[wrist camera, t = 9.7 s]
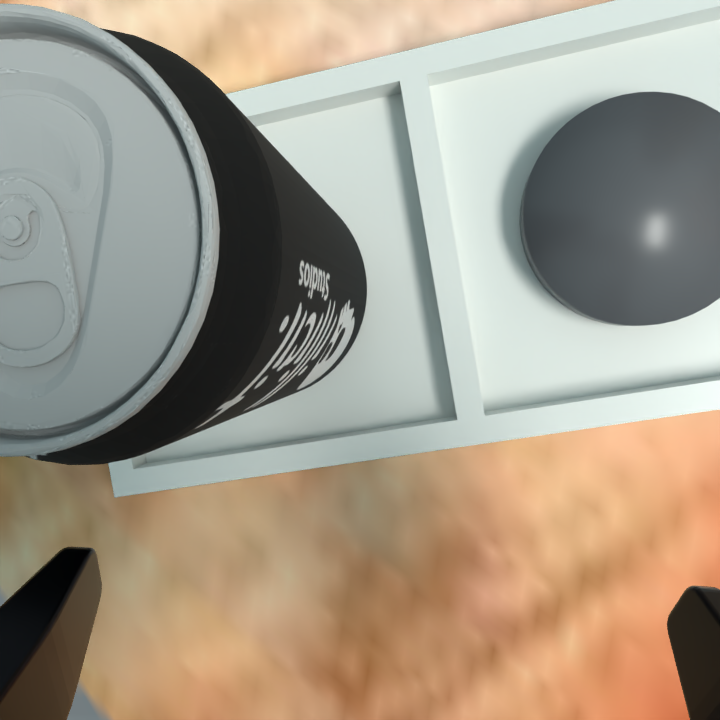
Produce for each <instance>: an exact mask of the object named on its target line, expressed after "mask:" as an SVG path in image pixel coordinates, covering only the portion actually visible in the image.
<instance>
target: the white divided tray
mask: <svg viewBox="0 0 720 720" xmlns="http://www.w3.org/2000/svg"><path fill="white" fill-rule="evenodd" d="M225 95H226V96H227V97H228V98H229V99H230V100H231V101H232V102H233V103H234V104H235V105H236V107H237V108H238V109H239V110H240V111H241V112H242V113H243V114H244V115H245V116H246V117H247V118H248V119H249V120H250V121H251V123H252V124H253V125H254V126H255V127H256V128H257V129H258V130H259V131H260V132H261V133H262V134H263V135H264V136H265V138H266V139H267V140H268V141H269V142H270V143H271V144H272V145H273V146H274V147H275V148H276V149H277V150H278V151H279V152H280V154H281V155H282V156H283V157H284V158H285V159H286V160H287V161H288V162H289V163H290V164H291V165H292V166H293V167H294V168H295V170H296V171H297V172H298V173H299V174H300V175H301V176H302V177H303V178H304V179H305V180H306V181H307V182H308V183H309V184H310V186H311V187H312V188H313V189H314V190H315V191H316V192H317V193H318V194H319V195H320V196H321V197H322V198H323V199H324V200H325V202H326V203H327V204H328V205H329V206H330V207H331V208H332V209H333V210H334V211H335V212H336V213H337V214H338V216H339V217H340V218H341V219H342V220H343V221H344V223H345V224H346V225H347V227H348V228H349V230H350V231H351V233H352V235H353V237H354V239H355V240H356V242H357V245H358V247H359V249H360V252H361V255H362V258H363V262H364V266H365V272H366V279H367V300H366V308H365V314H364V318H363V321H362V325H361V328H360V330H359V333H358V335H357V337H356V339H355V341H354V343H353V345H352V347H351V348H350V350H349V351H348V353H347V354H346V356H345V357H344V358H343V360H342V361H341V362H340V363H339V364H338V365H337V366H336V368H335V369H334V370H332V371H331V372H330V373H329V374H328V375H327V376H325V377H324V378H323V379H321V380H320V381H319V382H317V383H315V384H314V385H312V386H310V387H308V388H306V389H304V390H302V391H299V392H297V393H294V394H292V395H290V396H287V397H285V398H282V399H280V400H277V401H275V402H272V403H270V404H267V405H265V406H262V407H260V408H257V409H255V410H252V411H250V412H248V413H245V414H243V415H240V416H238V417H235V418H233V419H230V420H228V421H225V422H223V423H220V424H218V425H215V426H213V427H211V428H208V429H206V430H203V431H201V432H198V433H196V434H193V435H191V436H188V437H186V438H183V439H181V440H178V441H176V442H173V443H171V444H169V445H166V446H164V447H161V448H159V449H156V450H154V451H151V452H149V453H146V454H143V455H140V456H137V457H134V458H130V459H127V460H122V461H117V462H111V463H108V465H109V470H110V476H111V481H112V487H113V492H114V497H121V496H128V495H134V494H141V493H148V492H155V491H162V490H169V489H176V488H182V487H189V486H196V485H203V484H210V483H217V482H224V481H231V480H237V479H244V478H251V477H258V476H265V475H272V474H279V473H285V472H292V471H299V470H306V469H313V468H320V467H327V466H334V465H340V464H347V463H354V462H361V461H368V460H375V459H382V458H388V457H395V456H402V455H409V454H416V453H423V452H430V451H437V450H443V449H450V448H457V447H464V446H471V445H478V444H485V443H491V442H498V441H505V440H512V439H519V438H526V437H533V436H540V435H546V434H553V433H560V432H567V431H574V430H581V429H588V428H594V427H601V426H608V425H615V424H622V423H629V422H636V421H643V420H649V419H656V418H663V417H670V416H677V415H684V414H691V413H698V412H704V411H711V410H718V409H720V0H615V1H610V2H606V3H602V4H598V5H594V6H590V7H586V8H581V9H577V10H573V11H569V12H565V13H561V14H557V15H552V16H548V17H544V18H540V19H536V20H532V21H528V22H523V23H519V24H515V25H511V26H507V27H503V28H499V29H494V30H490V31H486V32H482V33H478V34H474V35H469V36H465V37H461V38H457V39H453V40H449V41H445V42H440V43H436V44H432V45H428V46H424V47H420V48H416V49H411V50H407V51H403V52H399V53H395V54H391V55H387V56H382V57H378V58H374V59H370V60H366V61H362V62H358V63H353V64H349V65H345V66H341V67H337V68H333V69H328V70H324V71H320V72H316V73H312V74H308V75H304V76H299V77H295V78H291V79H287V80H283V81H279V82H275V83H270V84H266V85H262V86H258V87H254V88H250V89H246V90H241V91H237V92H233V93H229V94H225Z"/></svg>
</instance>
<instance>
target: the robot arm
mask: <svg viewBox="0 0 720 720" xmlns="http://www.w3.org/2000/svg"><path fill="white" fill-rule="evenodd" d="M101 590H102V582H101V577H100V571H99V565H98V560H97V555H96V552H95V550H94V549H92V548H85V547H66V548H64V549H62V550H60V551H59V552H58V553H57V554H56V555H55V556H54V557H53V558H52V559H51V560H50V561H49V562H47V563H46V564H45V565H44V566H43V567H42V568H41V569H40V570H39V571H38V572H37V573H36V574H35V575H34V576H32V577H31V578H30V579H29V580H28V581H27V582H26V583H25V584H24V585H23V586H22V587H21V588H20V589H19V590H18V591H16V592H15V593H14V594H13V595H12V596H11V597H10V598H9V599H8V600H7V601H6V602H5V603H4V604H3V605H2V606H0V720H67V717H68V714H69V711H70V709H71V706H72V702H73V699H74V695H75V692H76V688H77V684H78V681H79V677H80V673H81V669H82V666H83V662H84V658H85V654H86V650H87V647H88V643H89V639H90V635H91V632H92V628H93V624H94V620H95V617H96V613H97V609H98V605H99V601H100V597H101ZM667 629H668V635H669V639H670V642H671V646H672V650H673V654H674V658H675V662H676V666H677V670H678V674H679V678H680V682H681V686H682V690H683V694H684V698H685V702H686V706H687V710H688V713H689V717H690V720H720V590H719V589H717V588H715V587H707V586H690V587H688V588H687V589H686V590H685V591H684V593H683V594H682V596H681V597H680V599H679V601H678V602H677V604H676V605H675V607H674V608H673V610H672V611H671V613H670V614H669V617H668V621H667Z"/></svg>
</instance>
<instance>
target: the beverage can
mask: <svg viewBox="0 0 720 720" xmlns="http://www.w3.org/2000/svg"><path fill="white" fill-rule="evenodd" d="M366 300H367V279H366V272H365V266H364V262H363V258H362V255H361V252H360V249H359V247H358V245H357V242H356V240H355V239H354V237H353V235H352V233H351V231H350V230H349V228H348V227H347V225H346V224H345V223H344V221H343V220H342V219H341V218H340V217H339V216H338V214H337V213H336V212H335V211H334V210H333V209H332V208H331V207H330V206H329V205H328V204H327V203H326V202H325V200H324V199H323V198H322V197H321V196H320V195H319V194H318V193H317V192H316V191H315V190H314V189H313V188H312V187H311V186H310V184H309V183H308V182H307V181H306V180H305V179H304V178H303V177H302V176H301V175H300V174H299V173H298V172H297V171H296V170H295V168H294V167H293V166H292V165H291V164H290V163H289V162H288V161H287V160H286V159H285V158H284V157H283V156H282V155H281V154H280V152H279V151H278V150H277V149H276V148H275V147H274V146H273V145H272V144H271V143H270V142H269V141H268V140H267V139H266V138H265V136H264V135H263V134H262V133H261V132H260V131H259V130H258V129H257V128H256V127H255V126H254V125H253V124H252V123H251V121H250V120H249V119H248V118H247V117H246V116H245V115H244V114H243V113H242V112H241V111H240V110H239V109H238V108H237V107H236V105H235V104H234V103H233V102H232V101H231V100H230V99H229V98H228V97H227V96H226V95H225V94H224V93H223V92H222V91H221V89H220V88H219V87H217V86H216V85H215V84H214V83H213V82H212V81H211V80H210V79H209V78H208V77H207V76H206V75H204V74H203V73H202V72H201V71H200V70H198V69H197V68H196V67H194V66H193V65H192V64H190V63H189V62H187V61H186V60H184V59H183V58H181V57H180V56H178V55H177V54H175V53H173V52H171V51H169V50H167V49H165V48H163V47H161V46H159V45H157V44H154V43H152V42H150V41H147V40H144V39H142V38H139V37H137V36H134V35H130V34H125V33H120V32H116V31H111V30H106V29H101V28H98V27H96V26H94V25H92V24H90V23H89V22H87V21H85V20H83V19H81V18H78V17H74V16H71V15H68V14H65V13H61V12H58V11H54V10H51V9H47V8H44V7H38V6H30V5H23V4H0V456H3V457H12V456H25V457H29V458H32V459H35V460H41V461H48V462H54V463H61V464H67V465H92V464H105V463H111V462H117V461H122V460H127V459H130V458H134V457H137V456H140V455H143V454H146V453H149V452H151V451H154V450H156V449H159V448H161V447H164V446H166V445H169V444H171V443H173V442H176V441H178V440H181V439H183V438H186V437H188V436H191V435H193V434H196V433H198V432H201V431H203V430H206V429H208V428H211V427H213V426H215V425H218V424H220V423H223V422H225V421H228V420H230V419H233V418H235V417H238V416H240V415H243V414H245V413H248V412H250V411H252V410H255V409H257V408H260V407H262V406H265V405H267V404H270V403H272V402H275V401H277V400H280V399H282V398H285V397H287V396H290V395H292V394H294V393H297V392H299V391H302V390H304V389H306V388H308V387H310V386H312V385H314V384H315V383H317V382H319V381H320V380H321V379H323V378H324V377H325V376H327V375H328V374H329V373H330V372H331V371H332V370H334V369H335V368H336V366H337V365H338V364H339V363H340V362H341V361H342V360H343V358H344V357H345V356H346V354H347V353H348V351H349V350H350V348H351V347H352V345H353V343H354V341H355V339H356V337H357V335H358V333H359V330H360V328H361V325H362V321H363V318H364V314H365V308H366Z"/></svg>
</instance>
